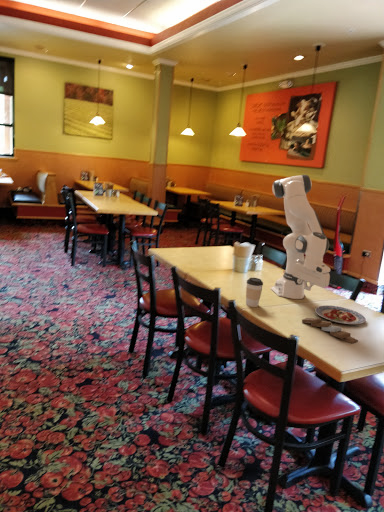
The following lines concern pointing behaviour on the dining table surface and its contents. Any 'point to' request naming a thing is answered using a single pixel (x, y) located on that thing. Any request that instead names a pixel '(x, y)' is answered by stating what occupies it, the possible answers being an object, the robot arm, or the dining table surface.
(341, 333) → the tile
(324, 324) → the tile
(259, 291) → the coffee cup
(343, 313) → the ceramic plate
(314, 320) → the tile
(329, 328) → the tile
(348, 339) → the tile
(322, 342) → the dining table surface
